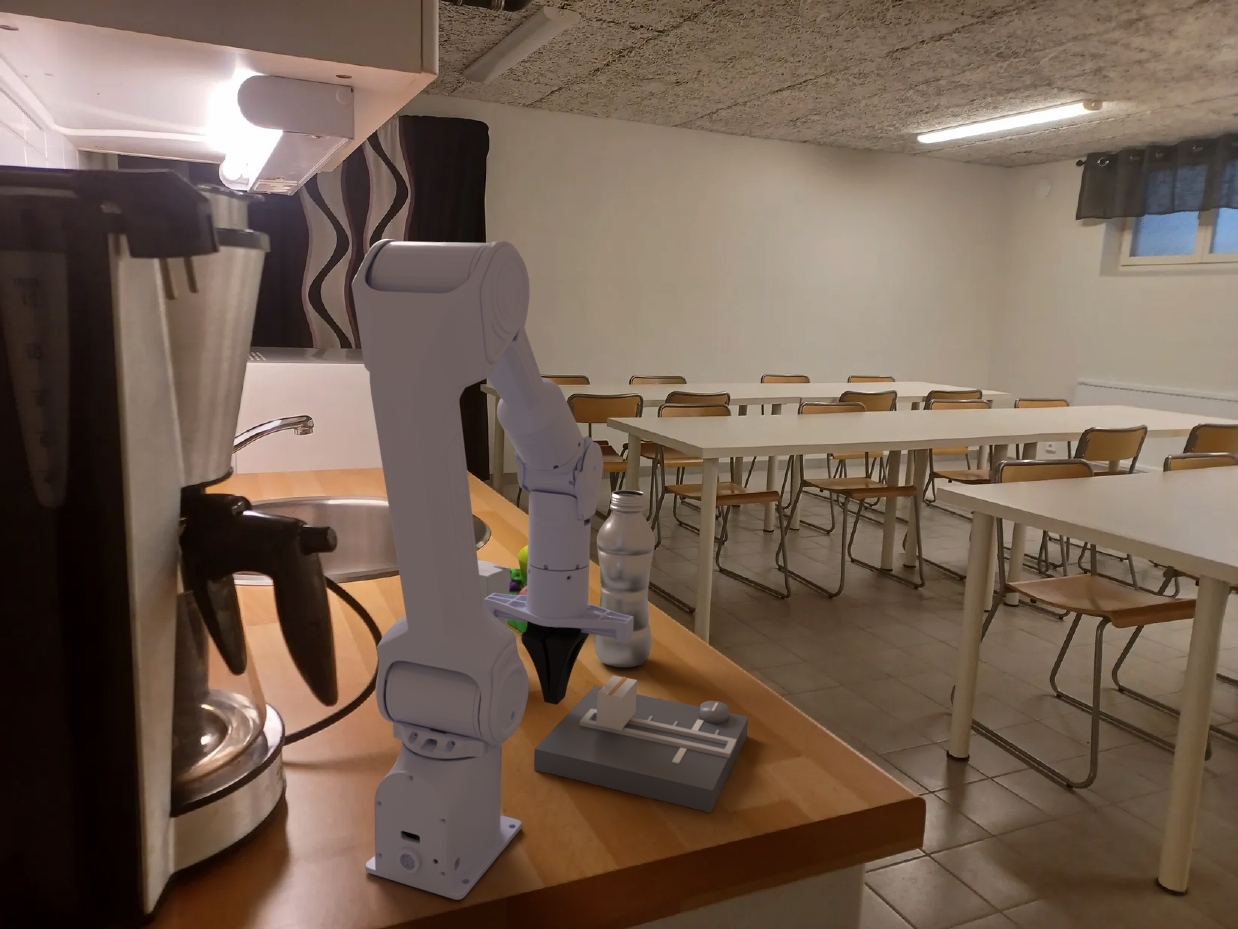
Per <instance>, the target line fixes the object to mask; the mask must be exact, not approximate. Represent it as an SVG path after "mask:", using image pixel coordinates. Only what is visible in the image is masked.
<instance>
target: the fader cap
mask: <svg viewBox="0 0 1238 929" xmlns="http://www.w3.org/2000/svg"><path fill="white" fill-rule="evenodd" d="M601 687H602V688H601V689H600V690H599V691H598V696H597V722H596V725H598V726H602V727H607V728H612V729H616V730H622V729H623V727H624V726H625V725H626V724H627V722H628V721H629V720H630V718H631V717H632V716H633V715H634V713H635V712H636V694H638V693H637V690H638V680H637V679H633V678H629V677H627V676H618V675H612V676H611V678H609V680H607V681H606V683H605V684H604V685H603V686H601Z"/></svg>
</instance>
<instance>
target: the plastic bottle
mask: <svg viewBox="0 0 1238 929" xmlns="http://www.w3.org/2000/svg"><path fill="white" fill-rule="evenodd" d="M645 501H646V493H645V492H642V491H640V490H639V491H638V490H632V489H618V490H614V491H612V492H611V497H610V502H611V503H610V504H609V509H610V510H611V511H612V513H611V514H610V515H609V517H608V518H606V519H605V521H604V522H603V524H602V525H601V527H600V528H599V531H598V533H597V536H596V546H597V548H596V549H597V555H598V563H599V565H598V566H599V583H600V591H599V592H600V597H599V604H598V606H599V607H601V608H604V609H607V610H610V611H613V612H616V613H620V614H624V615H628V616H633V617H634V621H633V636H632V637H631V638H630V640H629V641H627V642H626V643H621V642H616V641H615V638H610V637H605V636H599V635H593V646H594V652H595V655H596V657H597V658H598V660H599V661H600V662H602V663H603V664H604V665H608V666H611V667H615V668H633V667H637V666H640V665H643V664H644V663H645V662H646V660H647V659H648V658H649V656H650V654H651V653H650V652H651V649H652V643H653V640H652V631H651V626H650V620H649V618H650V617H649V616H650V615H649V600H648V599H649V585H650V575H651V573H650V572H651V567H652V564H653V563H652V562H653V557H654V552H655V551H654V550H655V545H656V538H655V535H654V531H653V530H652V528H651V525H650V524H649V522H648V520H647V519H646V518H645V517H644V515H643V512H645V511H646V505H645V504H646V502H645Z"/></svg>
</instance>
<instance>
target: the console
mask: <svg viewBox="0 0 1238 929" xmlns="http://www.w3.org/2000/svg"><path fill="white" fill-rule="evenodd" d="M602 687H603V686H598V685H594V686H593V687H591V689H590V690H589V691H588V692H587V693H586V694H585V695H584V696H583V697H582V698H580V700H579V701H578V702H577V703H576V704H575V705H574V706H573V708H571V709H570V711H569V712H568V713H567V714H566V715H565V716H564V717H563V718H562V719H561V720H560V722H558V724H557V725H555V727H554V728H553V729H552V730H551V731H550V732H548V734H547V735H546V736H545V737H544V738H543V739H542V740H541V742H540V743H538V745H537V746H536V747H535V748H534V751H533V752H534V755H533V756H534V758H533V759H534V760H533V762H534V764H533V770H534V771H537V772H541V771H543V772H542V773H545V772H546V773H545V774H549V773H551V775H554V774H555V775H554V776H558V777H562V776H563V778H566V777H567V779H570V780H574V779H576V780H575V781H578V780H580V781H579V782H582V781H583V783H586V782H589V783H588V784H591V783H592V784H591V785H595V786H599V785H601V786H600V787H603V786H604V788H607V787H608V789H611V788H612V790H615V789H616V790H615V791H619V790H620V791H621V792H625V793H628V794H631V795H632V794H633V795H636V794H637V795H636V796H641V797H645V798H647V799H648V798H649V799H652V800H657V801H661V802H666V803H669V804H674V805H678V806H682V807H686V808H690V809H695V810H699V811H703V812H707V813H712V812H713V809H714V807H715V805H716V803H717V800H718V798H719V797H720V795H721V792H722V790H723V788H724V787H725V784H726V782H727V780H728V777H729V776H730V772H732V769H733V767H734V764H735V763H736V760H737V758H738V756H739V754H740V752H741V750H742V748H743V746H744V743H745V741H746V739H747V737H748V727H749V716H747V715H742V714H738V713H737V714H736V713H733V712H732V713H731V712H730V707H729V705H727V704H726V703H724V702H723V701H719V700H707V701H704V702H702V703H701V704H700V705H699V706H698V705H697V706H696V705H693V704H688V703H683V702H678V701H672V700H668V699H663V698H657V697H653V696H652V697H651V696H648V695H643V694H638V693H636V712H635V713H634V715H633V716H632V717H631V718H630V720H629V721H628V722H627V724H626V725H625V726H624V727H623V729H622V730H616V729H612V728H607V727H602V726H598V725H596V722H597V696H598V691H599V690H600V689H601V688H602Z"/></svg>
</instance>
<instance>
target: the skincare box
mask: <svg viewBox="0 0 1238 929" xmlns="http://www.w3.org/2000/svg"><path fill="white" fill-rule="evenodd" d="M477 560H478V568H479V577H480V586H481V594H482V603H483V606H484V599H485V598H486V597H488V596H489V595H491V594H493V593H498V594H506V595H509V584H510V568H511V567H507V566H504V565H500V564H498V563H497V564H496V563H494V562H490V561H488V560H487V561H486V560H480V559H477ZM496 618H497V619H498V620H500V621H501V622H502V623H503V624H504V625H505V626H506V627H508V619H504V618H498V617H496Z"/></svg>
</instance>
